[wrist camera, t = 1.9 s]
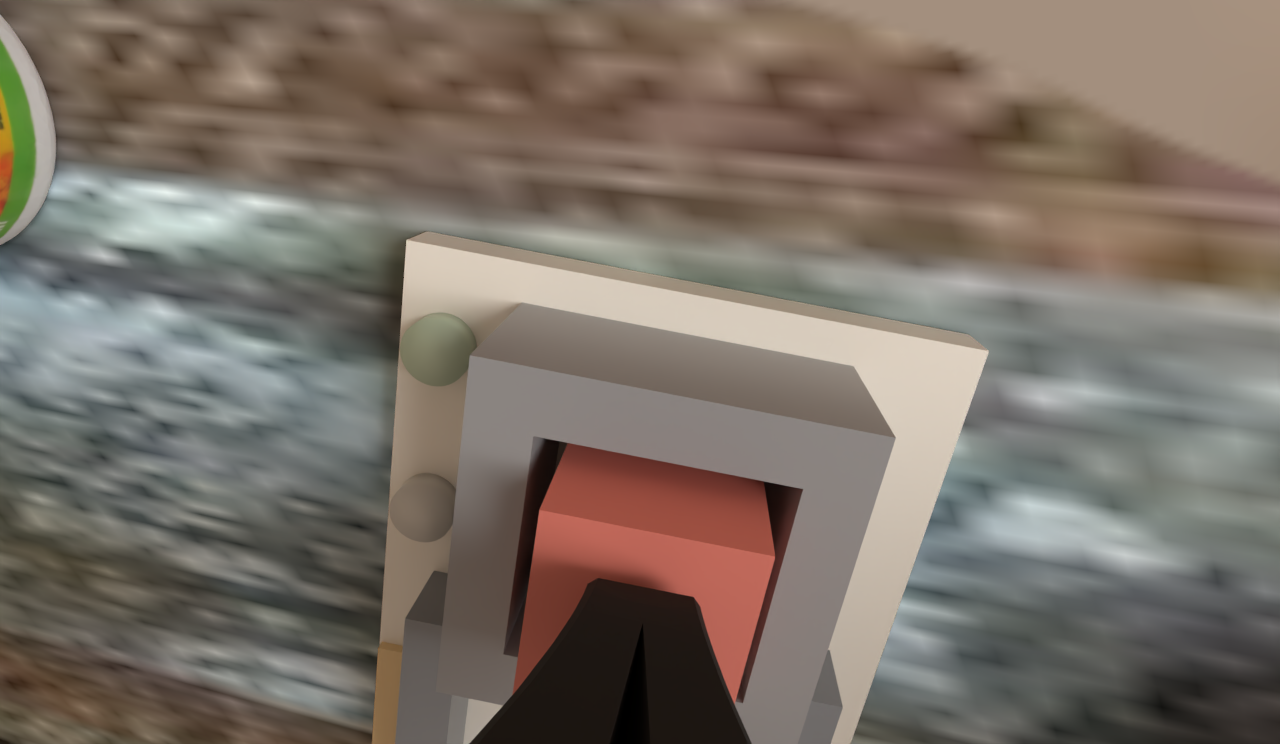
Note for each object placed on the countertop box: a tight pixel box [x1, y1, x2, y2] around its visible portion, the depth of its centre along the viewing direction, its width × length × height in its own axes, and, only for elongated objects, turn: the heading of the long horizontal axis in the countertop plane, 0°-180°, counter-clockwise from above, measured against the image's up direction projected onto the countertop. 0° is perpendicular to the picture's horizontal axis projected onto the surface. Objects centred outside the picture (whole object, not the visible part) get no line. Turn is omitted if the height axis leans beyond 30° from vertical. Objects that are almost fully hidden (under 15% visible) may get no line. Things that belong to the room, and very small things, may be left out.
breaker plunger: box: [512, 443, 775, 704], centre depth 11 cm, size 3×3×3 cm
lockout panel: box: [372, 231, 989, 744], centre depth 14 cm, size 10×14×4 cm
